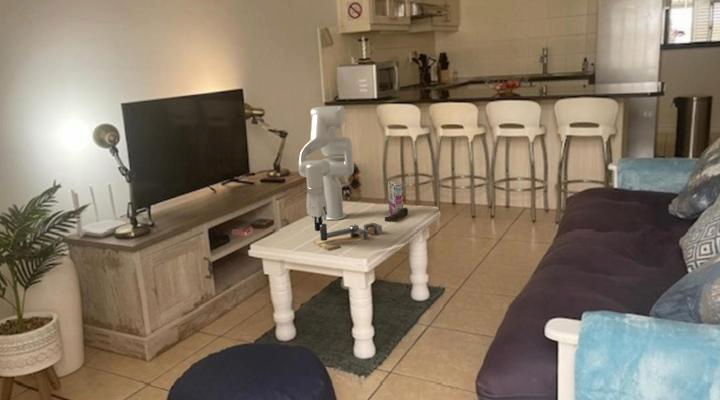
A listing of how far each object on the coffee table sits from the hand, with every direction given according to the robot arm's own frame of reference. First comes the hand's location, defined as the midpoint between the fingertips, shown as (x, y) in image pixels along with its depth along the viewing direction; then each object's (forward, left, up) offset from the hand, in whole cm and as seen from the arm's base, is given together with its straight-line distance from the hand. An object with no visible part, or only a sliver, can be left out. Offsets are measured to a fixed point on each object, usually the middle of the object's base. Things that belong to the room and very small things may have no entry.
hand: (318, 230), depth 267 cm
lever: (+8, +8, -5) cm, 12 cm away
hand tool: (-9, +50, -7) cm, 51 cm away
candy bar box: (-18, +56, -6) cm, 59 cm away
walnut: (+8, +23, -5) cm, 25 cm away
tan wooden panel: (+5, +13, -6) cm, 15 cm away
